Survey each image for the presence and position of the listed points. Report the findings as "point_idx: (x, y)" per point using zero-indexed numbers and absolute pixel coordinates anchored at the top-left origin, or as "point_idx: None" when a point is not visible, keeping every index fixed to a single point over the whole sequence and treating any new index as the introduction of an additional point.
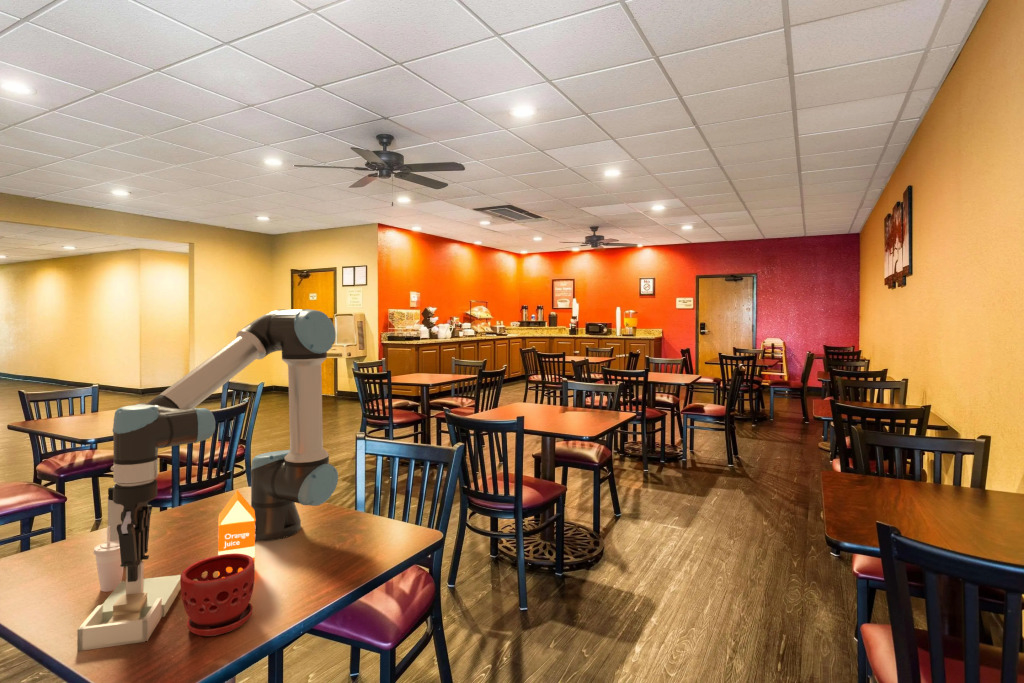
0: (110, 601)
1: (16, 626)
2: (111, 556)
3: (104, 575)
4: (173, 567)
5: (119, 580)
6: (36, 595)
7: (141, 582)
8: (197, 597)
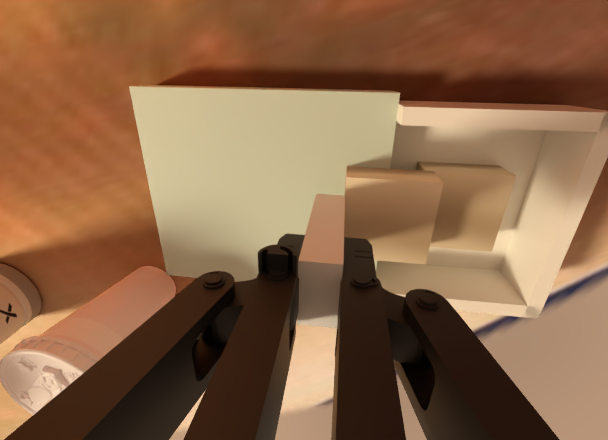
0: None
1: (312, 398)
2: None
3: None
4: (20, 153)
5: (146, 279)
6: None
7: (340, 214)
8: None
